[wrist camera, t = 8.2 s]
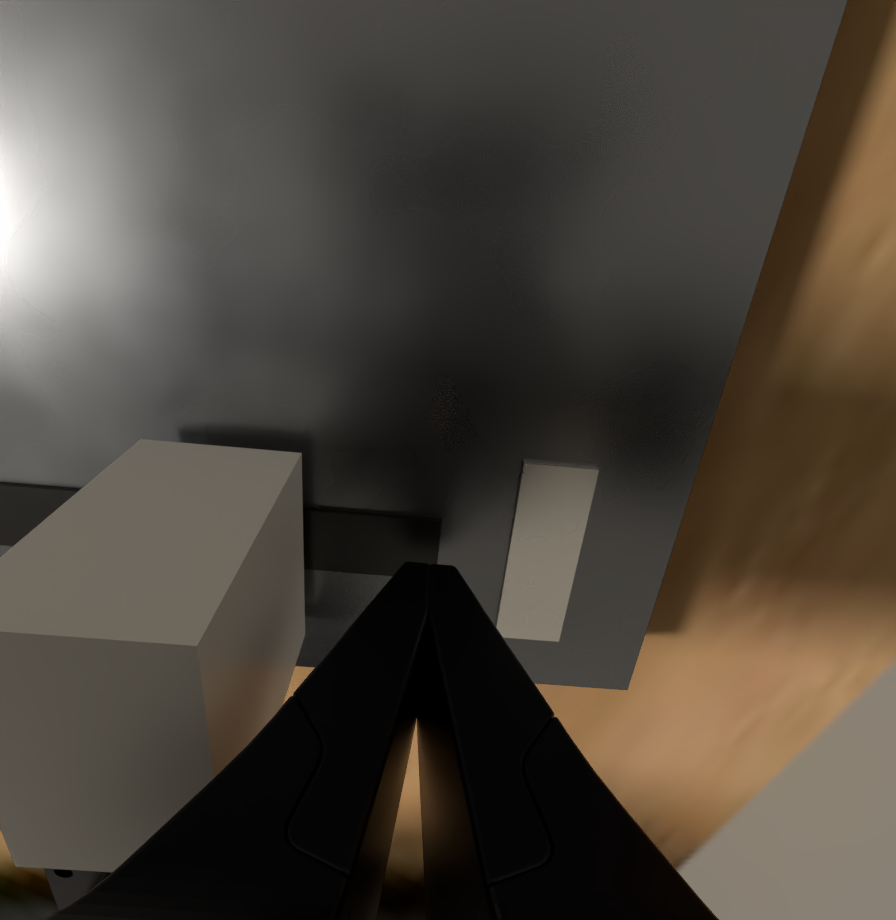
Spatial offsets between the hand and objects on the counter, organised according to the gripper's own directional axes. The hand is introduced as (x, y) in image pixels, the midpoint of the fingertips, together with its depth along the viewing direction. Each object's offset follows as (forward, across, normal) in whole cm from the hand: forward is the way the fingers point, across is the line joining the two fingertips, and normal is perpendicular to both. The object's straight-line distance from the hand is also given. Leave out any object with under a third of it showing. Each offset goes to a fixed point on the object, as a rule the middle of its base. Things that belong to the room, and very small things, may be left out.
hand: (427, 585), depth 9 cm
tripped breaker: (+1, +3, 0) cm, 3 cm away
